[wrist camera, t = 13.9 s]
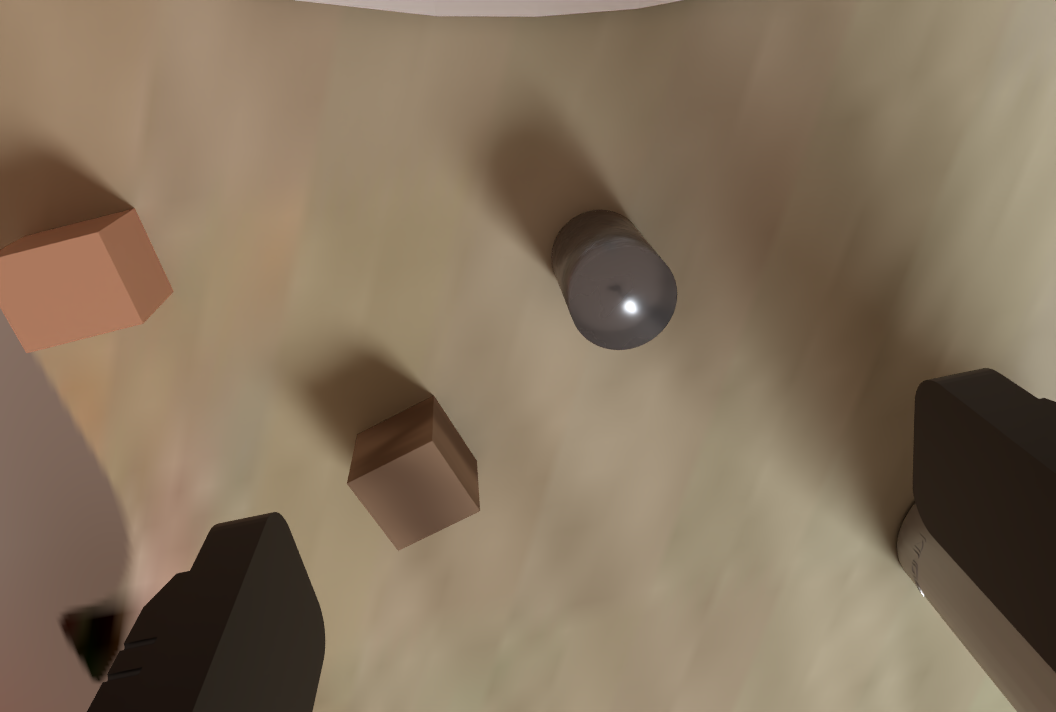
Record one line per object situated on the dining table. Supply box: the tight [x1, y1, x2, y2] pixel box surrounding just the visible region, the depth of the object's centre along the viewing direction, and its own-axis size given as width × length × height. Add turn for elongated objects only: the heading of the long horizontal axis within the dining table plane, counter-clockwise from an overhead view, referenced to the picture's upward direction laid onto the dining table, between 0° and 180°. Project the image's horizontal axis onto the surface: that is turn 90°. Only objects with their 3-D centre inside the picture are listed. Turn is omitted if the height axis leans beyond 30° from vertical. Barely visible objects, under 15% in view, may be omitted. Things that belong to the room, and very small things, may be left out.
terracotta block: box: [0, 208, 173, 353], centre depth 33 cm, size 5×4×4 cm
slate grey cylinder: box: [552, 210, 677, 350], centre depth 34 cm, size 4×4×6 cm
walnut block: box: [347, 396, 480, 551], centre depth 38 cm, size 4×4×4 cm
